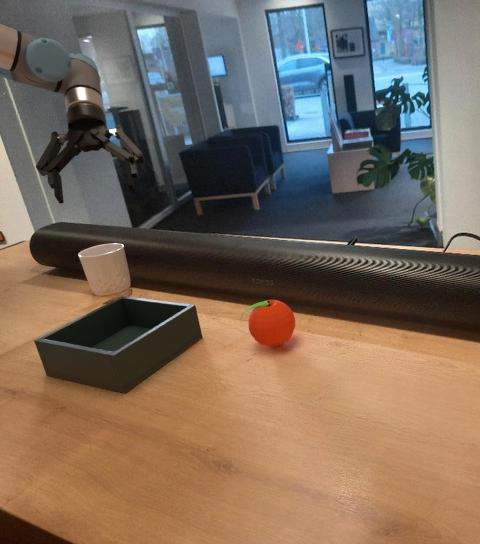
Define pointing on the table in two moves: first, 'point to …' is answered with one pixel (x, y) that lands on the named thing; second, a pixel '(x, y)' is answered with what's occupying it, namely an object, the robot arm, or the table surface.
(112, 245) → the white cup
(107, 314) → the open dark box
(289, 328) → the clementine
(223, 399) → the table surface
